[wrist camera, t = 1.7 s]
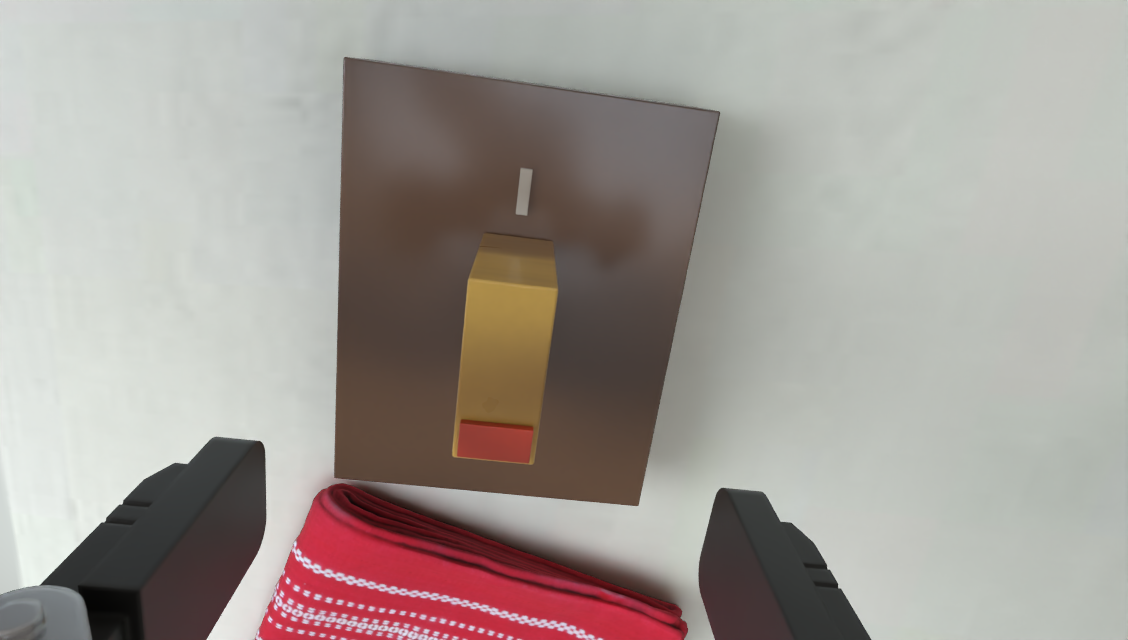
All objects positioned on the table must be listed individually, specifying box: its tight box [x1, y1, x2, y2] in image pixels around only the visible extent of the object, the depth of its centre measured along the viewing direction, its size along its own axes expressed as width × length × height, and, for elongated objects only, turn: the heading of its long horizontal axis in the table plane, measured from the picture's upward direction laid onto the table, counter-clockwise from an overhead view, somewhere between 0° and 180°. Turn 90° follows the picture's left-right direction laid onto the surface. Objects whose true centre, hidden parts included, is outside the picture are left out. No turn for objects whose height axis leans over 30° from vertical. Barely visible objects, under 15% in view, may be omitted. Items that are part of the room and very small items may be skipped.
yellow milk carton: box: [452, 233, 558, 465], centre depth 19 cm, size 5×2×5 cm, turn 172°
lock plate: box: [334, 57, 720, 506], centre depth 23 cm, size 14×11×3 cm
